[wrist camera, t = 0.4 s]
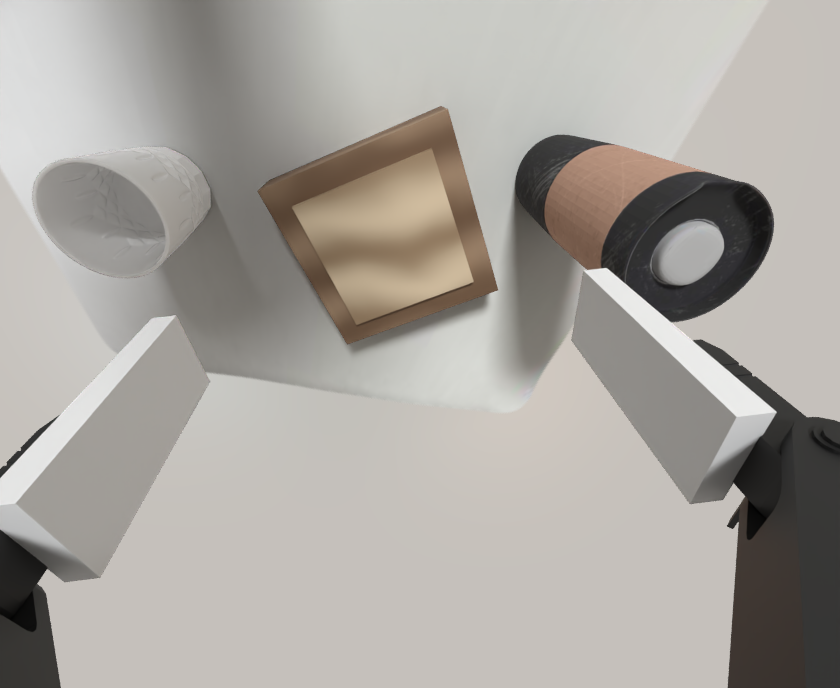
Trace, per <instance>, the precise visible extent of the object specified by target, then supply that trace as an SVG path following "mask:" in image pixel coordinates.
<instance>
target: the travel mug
mask: <svg viewBox="0 0 840 688" xmlns="http://www.w3.org/2000/svg"><path fill="white" fill-rule="evenodd" d="M516 192H517V196H518V199H519V201H520V203H521V204H522V206H523V207H524V208H525V209H526V210H527V212H528V213H529V214H530V215H531V216H532V217H533V218H534V219H535V220H536V221H537V222H538V223H539V224H540V225H541V226H542V228H543V229H544V230H545V231H546V232H547V233H548V234H549V235H550V236H551V237H552V238H553V239H554V240H555V241H556V242H557V243H558V244H559V245H560V246H561V247H562V248H563V249H564V250H566V251H567V252H568V253H569V254H570V255H571V256H572V257H573V258H574V259H576V260H577V261H578V262H579V263H580V264H581V265H582V266H583V267H585V268H586V269H587V270H592V269H601V268H607V269H608V270H610V271H611V272H612V273H613V274H614V275H615V276H617V277H618V278H619V279H620V280H621V281H623V282H624V283H625V284H626V285H627V286H628V287H630V288H631V289H632V290H633V291H634V292H636V293H637V294H638V295H639V296H640V297H641V298H643V299H644V300H645V301H646V302H647V303H649V304H650V305H651V306H652V307H653V308H654V309H656V310H657V311H658V312H659V313H660V314H662V315H663V316H664V317H665V318H666V319H667V320H669V321H670V322H679V321H684V320H689V319H692V318H695V317H698V316H700V315H703V314H705V313H707V312H709V311H711V310H713V309H715V308H717V307H718V306H720V305H722V304H723V303H724V302H726V301H727V300H729V299H730V298H731V297H732V296H734V295H735V294H736V293H737V292H738V291H739V290H740V289H741V288H742V287H744V286H745V284H746V283H747V282H748V281H749V280H750V279H751V278H752V276H753V275H754V274H755V272H756V271H757V270H758V268H759V267H760V265H761V264H762V262H763V260H764V258H765V256H766V254H767V252H768V250H769V247H770V244H771V241H772V236H773V230H774V218H773V213H772V209H771V207H770V205H769V203H768V201H767V199H766V198H765V197H764V195H763V194H762V193H761V192H760V191H759V190H758V189H757V188H755V187H754V186H752V185H750V184H748V183H744V182H739V181H734V180H731V179H728V178H725V177H721V176H718V175H715V174H711V173H708V172H705V171H701V170H698V169H695V168H691V167H688V166H685V165H682V164H678V163H675V162H672V161H669V160H665V159H662V158H659V157H656V156H652V155H649V154H646V153H642V152H639V151H636V150H633V149H629V148H626V147H622V146H618V145H614V144H609V143H605V142H600V141H595V140H590V139H585V138H581V137H576V136H570V135H555V136H551V137H548V138H546V139H544V140H542V141H540V142H539V143H537V144H536V145H535V146H533V147H532V148H531V149H530V150H529V151H528V153H527V154H526V155H525V157H524V158H523V160H522V162H521V164H520V166H519V169H518V172H517V176H516Z"/></svg>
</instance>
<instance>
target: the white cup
mask: <svg viewBox="0 0 840 688" xmlns="http://www.w3.org/2000/svg"><path fill="white" fill-rule="evenodd" d="M32 200H33V206H34V210H35V213H36V216H37V219H38V221H39V223H40V225H41V226H42V228H43V230H44V231H45V233H46V234H47V236H48V237H49V238H50V239H51V241H52V242H53V243H54V244H55V245H56V246H57V247H58V248H59V249H60V250H61V251H62V252H64V253H65V254H66V255H67V256H68V257H70V258H71V259H73V260H74V261H76V262H77V263H79V264H80V265H82V266H84V267H86V268H88V269H90V270H92V271H95V272H97V273H100V274H103V275H107V276H111V277H117V278H136V277H141V276H144V275H147V274H149V273H151V272H153V271H155V270H156V269H157V268H158V267H159V266H160V265H161V264H162V263H163V262H164V261H165V260H166V259H167V258H168V257H169V256H170V255H171V254H172V253H173V252H174V251H175V250H176V249H177V248H178V247H179V246H180V245H181V244H182V243H183V242H184V241H185V240H186V239H187V238H188V237H189V236H190V235H191V234H192V233H193V232H194V230H195V229H196V228H197V227H198V225H199V224H200V223H201V222H202V221H203V220H204V218H205V216H206V215H207V213H208V211H209V209H210V208H211V190H210V188H209V186H208V183H207V181H206V179H205V177H204V175H203V173H202V171H201V170H200V169H199V168H198V167H197V166H196V165H195V164H194V163H193V162H192V161H191V160H190V159H189V158H188V157H187V156H185V155H183V154H180V153H178V152H176V151H174V150H172V149H170V148H168V147H151V146H146V147H141V148H128V149H122V150H114V151H106V152H101V153H95V154H90V155H84V156H79V157H73V158H67V159H62V160H58V161H55V162H53V163H51V164H49V165H48V166H46V167H45V168H44V169H43V170H42V171H41V172H40V173H39V175H38V176H37V178H36V180H35V182H34V186H33V191H32Z"/></svg>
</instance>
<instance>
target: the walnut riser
mask: <svg viewBox="0 0 840 688" xmlns="http://www.w3.org/2000/svg"><path fill="white" fill-rule="evenodd" d="M258 193H259V195H260V197H261V198H262V200H263V202H264V203H265V205H266V207H267V208H268V210H269V212H270V214H271V215H272V217H273V219H274V220H275V222H276V224H277V226H278V227H279V229H280V231H281V232H282V234H283V236H284V237H285V239H286V241H287V243H288V244H289V246H290V248H291V249H292V251H293V253H294V254H295V256H296V258H297V260H298V261H299V263H300V265H301V266H302V268H303V270H304V271H305V273H306V275H307V277H308V278H309V280H310V282H311V283H312V285H313V287H314V289H315V290H316V292H317V294H318V295H319V297H320V299H321V300H322V302H323V304H324V306H325V307H326V309H327V311H328V312H329V314H330V316H331V317H332V319H333V321H334V323H335V324H336V326H337V328H338V329H339V331H340V333H341V335H342V336H343V338H344V340H345V341H346V343H347V344H350V343H352V342H355V341H358V340H361V339H364V338H366V337H369V336H372V335H375V334H377V333H380V332H383V331H386V330H389V329H391V328H394V327H397V326H400V325H402V324H405V323H408V322H411V321H414V320H416V319H419V318H422V317H425V316H428V315H430V314H433V313H436V312H439V311H441V310H444V309H447V308H450V307H453V306H455V305H458V304H461V303H464V302H466V301H469V300H472V299H475V298H478V297H480V296H483V295H486V294H489V293H491V292H494V291H497V290H498V288H497V284H496V281H495V277H494V273H493V270H492V266H491V263H490V259H489V255H488V252H487V248H486V245H485V241H484V237H483V234H482V230H481V227H480V223H479V219H478V216H477V212H476V209H475V205H474V201H473V198H472V194H471V191H470V187H469V183H468V180H467V176H466V173H465V169H464V165H463V162H462V158H461V155H460V151H459V148H458V144H457V140H456V137H455V133H454V130H453V126H452V122H451V119H450V115H449V112H448V109H446V108H444V107H442V106H440V107H438V108H436V109H433V110H431V111H429V112H426V113H424V114H422V115H419V116H417V117H415V118H412V119H410V120H408V121H406V122H403V123H401V124H399V125H396V126H394V127H392V128H389V129H387V130H385V131H382V132H380V133H378V134H375V135H373V136H371V137H368V138H366V139H364V140H362V141H359V142H357V143H355V144H352V145H350V146H348V147H345V148H343V149H341V150H338V151H336V152H334V153H331V154H329V155H327V156H325V157H322V158H320V159H318V160H315V161H313V162H311V163H308V164H306V165H304V166H301V167H299V168H297V169H294V170H292V171H290V172H287V173H285V174H283V175H281V176H278V177H276V178H274V179H271V180H269V181H268V182H267V183H266V184H265V185H264V186H263V187H261V188H260V189H259V190H258Z"/></svg>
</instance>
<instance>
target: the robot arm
mask: <svg viewBox="0 0 840 688" xmlns="http://www.w3.org/2000/svg"><path fill="white" fill-rule="evenodd" d="M572 342H573V343H574V345H575V346H576V347H577V349H578V350H579V351H580V353H581V354H582V356H583V357H584V358H585V360H586V361H587V363H588V364H589V365H590V367H591V368H592V370H593V371H594V372H595V374H596V375H597V376H598V378H599V379H600V380H601V382H602V383H603V385H604V386H605V387H606V389H607V390H608V391H609V393H610V394H611V396H612V397H613V399H614V400H615V401H616V403H617V404H618V405H619V407H620V408H621V410H622V411H623V412H624V414H625V415H626V416H627V418H628V419H629V421H630V422H631V423H632V425H633V426H634V428H635V429H636V430H637V432H638V433H639V434H640V436H641V437H642V439H643V440H644V441H645V443H646V444H647V446H648V447H649V448H650V450H651V451H652V452H653V454H654V455H655V457H656V458H657V459H658V461H659V462H660V463H661V465H662V466H663V468H664V469H665V470H666V472H667V473H668V474H669V476H670V477H671V478H672V480H673V481H674V483H675V484H676V486H677V487H678V488H679V490H680V491H681V492H682V494H683V495H684V497H685V498H686V499H687V501H688V502H689V504H694V503H702V502H710V501H717V500H723V499H724V498H725V496H726V494H727V493H728V491H729V489H730V488H731V486H732V484H733V483H734V484H735V485H736V486H737V487H738V488H739V489H740V491H741V492H742V493H743V494H744V495H745V498H744V499H743V501H742V502H741V504H740V505H739V507H738V509H737V510H736V511H735V513H734V514H733V516H732V518H731V519H730V521H729V523H728V525H727V527H729V528H732V529H733V528H734V527H735V525H736V524H737V522H739V528H738V543H737V558H736V573H735V589H734V602H733V618H732V632H731V633H732V634H731V648H730V662H729V677H728V688H840V422H837V421H835V420H830V419H825V418H819V417H809V418H808V417H806V416H804V415H803V414H802V413H801V412H799V411H798V410H797V409H796V408H794V407H793V406H792V405H791V404H790V403H788V402H787V401H786V400H785V399H783V398H782V397H781V396H779V395H778V394H777V393H776V392H775V391H773V390H772V389H771V388H769V387H768V386H767V385H766V384H764V383H763V382H762V381H761V380H759V379H758V378H757V377H753V376H752V373H751V372H750V371H748V370H747V369H746V368H744V367H743V366H739V363H738V362H737V361H736V360H734V359H733V358H732V357H731V356H729V355H728V354H727V353H726V352H724V351H723V350H722V349H720V348H718V347H715V346H713V345H711V344H709V343H707V342H705V341H703V340H691V339H690V338H689V337H688V336H686V335H685V334H684V333H683V332H682V331H680V330H679V329H678V328H677V327H676V326H674V325H673V324H672V323H671V322H670V321H669V320H667V319H666V318H665V317H664V316H663V315H662V314H660V313H659V312H658V311H657V310H656V309H654V308H653V307H652V306H651V305H650V304H649V303H647V302H646V301H645V300H644V299H643V298H641V297H640V296H639V295H638V294H637V293H636V292H634V291H633V290H632V289H631V288H630V287H628V286H627V285H626V284H625V283H624V282H623V281H621V280H620V279H619V278H618V277H617V276H615V275H614V274H613V273H612V272H611V271H610V270H608V269H607V268H601V269H592V270H583V276H582V282H581V287H580V293H579V299H578V305H577V311H576V317H575V322H574V328H573V334H572ZM209 383H210V381H209V379H208V377H207V375H206V373H205V371H204V369H203V367H202V365H201V363H200V361H199V359H198V357H197V355H196V353H195V351H194V349H193V347H192V345H191V343H190V341H189V339H188V337H187V335H186V333H185V331H184V329H183V327H182V325H181V323H180V321H179V319H178V317H177V315H174V316H165V317H156V318H152V319H151V320H150V321H149V322H148V323H147V324H146V325H145V326H144V327H143V328H142V329H141V330H140V331H139V332H138V333H137V334H136V335H135V337H134V338H133V339H132V340H131V341H130V342H129V343H128V344H127V345H126V346H125V347H124V348H123V349H122V350H121V351H120V352H119V353H118V354H117V356H116V357H115V358H114V359H113V360H112V361H111V362H110V363H109V364H108V365H107V366H106V367H105V368H104V369H103V370H102V371H101V372H100V373H99V375H98V376H97V377H96V378H95V379H94V380H93V381H92V382H91V383H90V384H89V385H88V386H87V387H86V388H85V389H84V390H83V391H82V392H81V394H80V395H79V396H78V397H77V398H76V399H75V400H74V401H73V402H72V403H71V404H70V405H69V406H68V407H67V408H66V409H65V411H63V412H62V414H60V415H59V416H58V417H56V418H55V419H53V420H52V421H50V422H49V423H48V424H46V425H45V426H43V427H42V428H40V429H39V430H38V431H37V432H36V433H35V434H34V435H33V436H32V437H31V438H30V439H29V440H28V441H27V442H26V443H25V444H24V445H23V446H22V447H21V451H17V452H16V453H15V454H14V455H13V456H12V457H11V459H9V460H8V461H7V466H3V467H2V468H1V469H0V688H61V687H60V680H59V674H58V667H57V661H56V655H55V648H54V642H53V636H52V629H51V623H50V616H49V610H48V604H47V598H46V593H45V592H44V590H43V589H42V587H40V586H39V585H38V584H37V583H38V582H39V580H40V579H41V577H42V576H43V574H44V573H45V571H46V570H47V569H49V570H50V571H51V572H53V573H54V574H55V575H56V576H57V577H59V578H60V579H61V580H62V581H64V582H70V581H77V580H86V579H94V578H100V577H101V575H102V573H103V572H104V570H105V568H106V566H107V565H108V563H109V561H110V559H111V558H112V556H113V554H114V552H115V550H116V549H117V547H118V545H119V543H120V542H121V540H122V538H123V536H124V534H125V533H126V531H127V529H128V527H129V525H130V524H131V522H132V520H133V518H134V516H135V515H136V513H137V511H138V509H139V507H140V506H141V504H142V502H143V500H144V499H145V497H146V495H147V493H148V491H149V490H150V488H151V486H152V484H153V483H154V481H155V479H156V477H157V475H158V474H159V472H160V470H161V468H162V466H163V464H164V463H165V461H166V459H167V458H168V456H169V454H170V452H171V450H172V448H173V447H174V445H175V443H176V441H177V440H178V438H179V436H180V434H181V433H182V430H183V429H184V427H185V425H186V424H187V422H188V420H189V418H190V416H191V415H192V413H193V411H194V409H195V408H196V406H197V404H198V402H199V400H200V399H201V397H202V395H203V393H204V391H205V389H206V388H207V386H208V384H209Z"/></svg>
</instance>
